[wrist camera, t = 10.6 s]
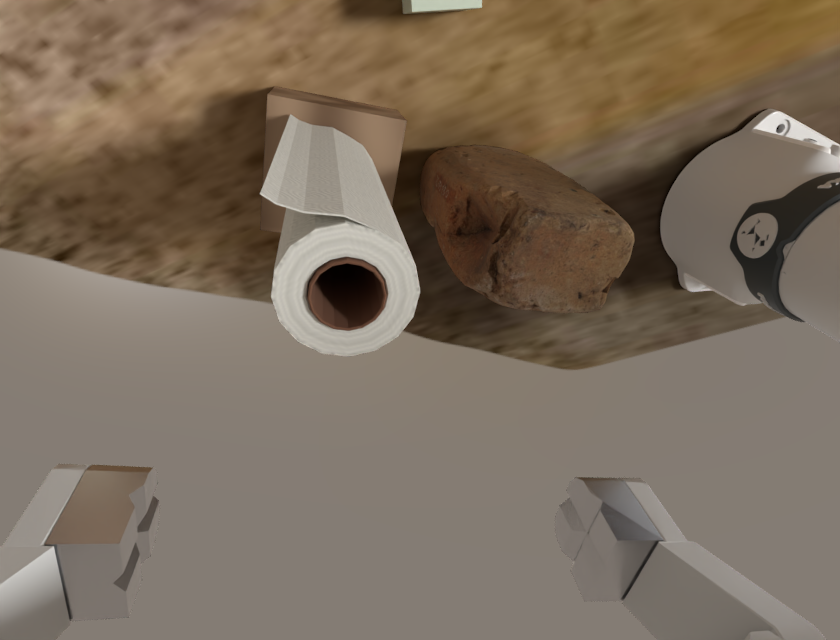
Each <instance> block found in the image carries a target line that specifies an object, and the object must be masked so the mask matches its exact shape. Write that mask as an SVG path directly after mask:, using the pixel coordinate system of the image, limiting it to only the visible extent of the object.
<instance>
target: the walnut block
mask: <svg viewBox="0 0 840 640" xmlns="http://www.w3.org/2000/svg"><path fill="white" fill-rule="evenodd" d="M290 114H291V115H293V116H294V117H295V118H297V119H298V120H300V121H303V122H306V123H309V124H311V125H318V126H326V127H333V128H335V129H336V130H338V131H340V132H342V133H344V134H346V135H347V136H349V137H351V138H352V139H354V140H355V141H357V142H358V143H360V144H362V145H363V146H364V148H365V149H366V151H367V152H368V154H369V155H370V157H371V158H372V160H373V163H374V165H375V168H376V170H377V172H378V175H379V177H380V180H381V182H382V185H383V187H384V189H385V192H386V194H387V197H388V199H389V201H390V204H391V206H392V203H393V197H394V192H395V186H396V180H397V174H398V169H399V163H400V157H401V151H402V146H403V140H404V134H405V129H406V123H407V120H406V119H405V118H404V117H403V116H402V115H401V114H400V113H399V111H398V110H394V109H389V108H384V107H378V106H373V105H368V104H363V103H358V102H353V101H348V100H343V99H337V98H332V97H327V96H322V95H317V94H312V93H307V92H302V91H296V90H291V89H286V88H281V87H276V86H275V87H274V88H273V89H272V90H271V91H270V92H269V93H268V94H267V112H266V130H265V149H264V167H263V184H264V181H265V179H266V176H267V173H268V171H269V168H270V166H271V163H272V160H273V158H274V155H275V153H276V150H277V147H278V145H279V142H280V140H281V137H282V134H283V132H284V129H285V127H286V124H287V121H288V119H289V116H290ZM262 187H263V185H262ZM285 212H286V207H282V206H279V205H276V204H274V203H273V202H271V201H270V200H268V199H267V198H265V197H263V196H262V204H261V222H260V230H264V231H271V232H279V233H281V232H282V227H283V222H284V217H285Z"/></svg>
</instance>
